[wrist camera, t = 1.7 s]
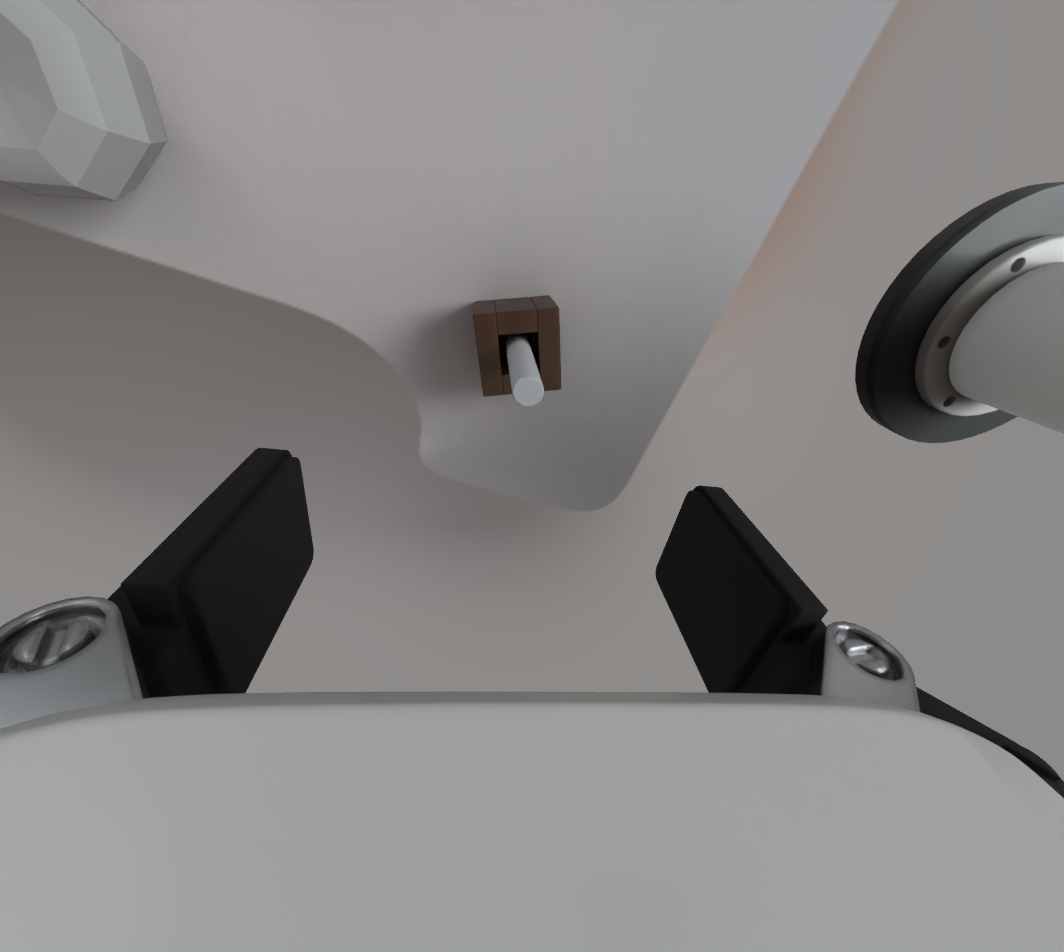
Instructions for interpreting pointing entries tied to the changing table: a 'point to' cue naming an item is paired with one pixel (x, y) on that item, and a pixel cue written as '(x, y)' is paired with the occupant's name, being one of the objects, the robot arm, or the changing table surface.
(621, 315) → the changing table surface
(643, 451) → the changing table surface
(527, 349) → the stylus
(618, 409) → the changing table surface
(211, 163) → the changing table surface
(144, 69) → the apple
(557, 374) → the pen block
